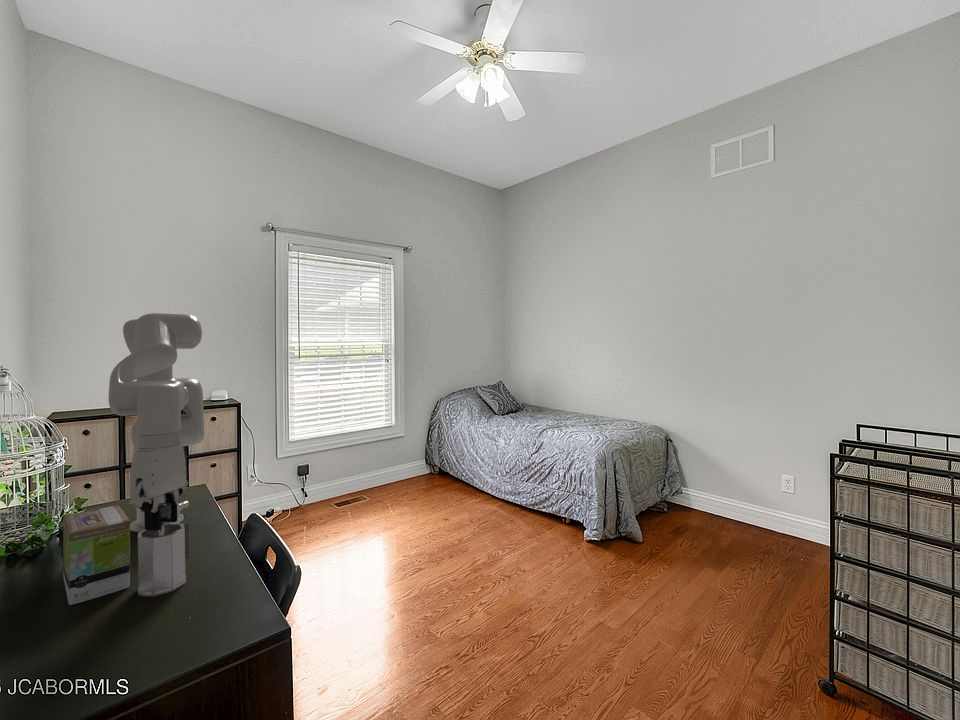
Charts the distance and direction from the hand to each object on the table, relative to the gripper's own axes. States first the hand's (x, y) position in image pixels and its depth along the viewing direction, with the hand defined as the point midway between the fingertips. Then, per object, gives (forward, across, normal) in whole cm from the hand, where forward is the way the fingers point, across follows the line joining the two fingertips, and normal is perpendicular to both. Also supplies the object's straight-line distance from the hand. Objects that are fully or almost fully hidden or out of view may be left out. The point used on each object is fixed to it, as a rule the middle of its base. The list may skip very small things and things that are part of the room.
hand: (161, 524), depth 93 cm
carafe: (+13, -1, 0) cm, 13 cm away
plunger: (+9, 0, 0) cm, 9 cm away
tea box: (+14, +1, -15) cm, 20 cm away
